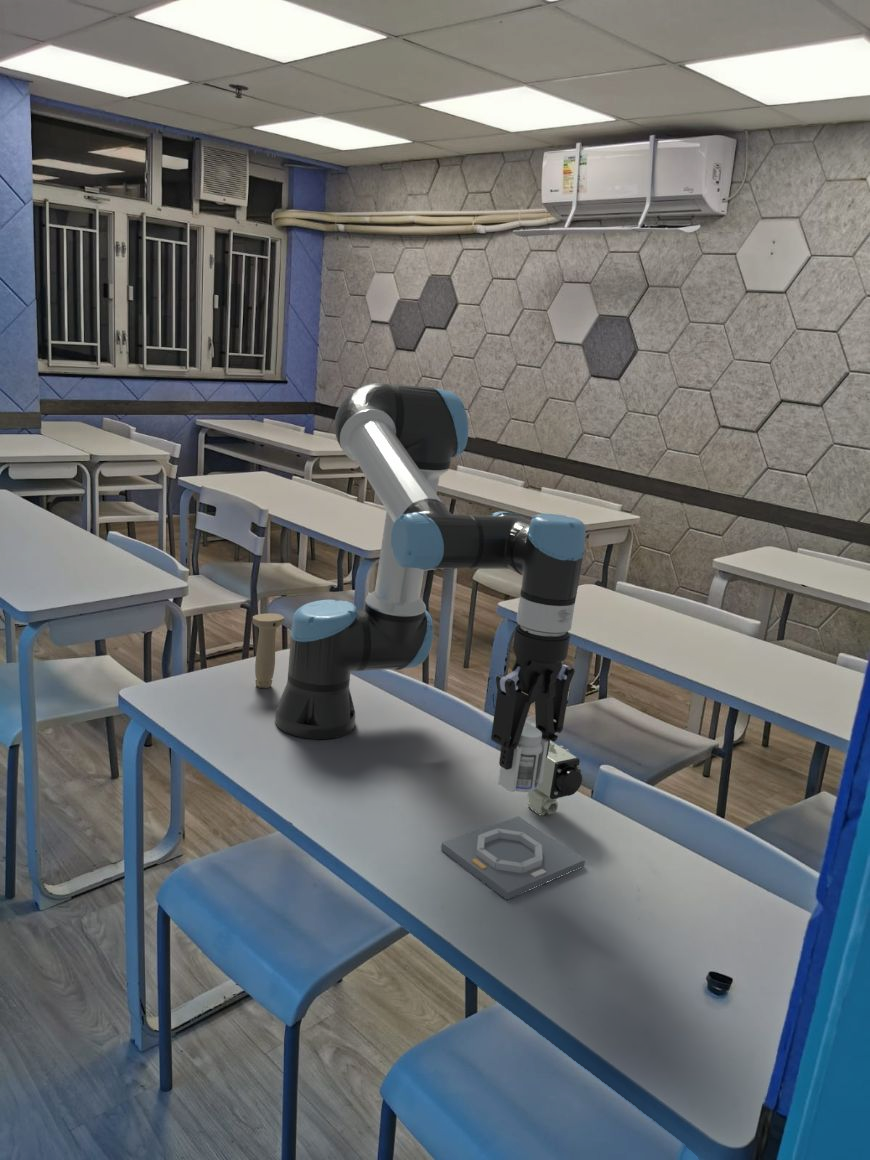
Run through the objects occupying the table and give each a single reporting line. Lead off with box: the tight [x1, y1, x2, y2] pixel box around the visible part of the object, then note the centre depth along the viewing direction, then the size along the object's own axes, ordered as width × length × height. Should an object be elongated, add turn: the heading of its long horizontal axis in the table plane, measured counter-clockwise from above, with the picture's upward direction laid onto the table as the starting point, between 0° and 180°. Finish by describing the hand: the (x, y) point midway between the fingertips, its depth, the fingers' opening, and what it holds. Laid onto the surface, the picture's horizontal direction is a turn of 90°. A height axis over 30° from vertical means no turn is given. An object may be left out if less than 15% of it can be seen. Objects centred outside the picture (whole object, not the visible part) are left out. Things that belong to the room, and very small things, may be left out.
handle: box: [252, 612, 285, 689], centre depth 180 cm, size 5×6×15 cm
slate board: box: [440, 815, 586, 900], centre depth 129 cm, size 14×16×2 cm
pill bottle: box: [514, 724, 542, 793], centre depth 124 cm, size 5×5×8 cm
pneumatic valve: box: [526, 740, 583, 815], centre depth 143 cm, size 6×12×12 cm, turn 33°
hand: (520, 783), depth 125 cm, fingers closed on pill bottle, 5 cm apart
